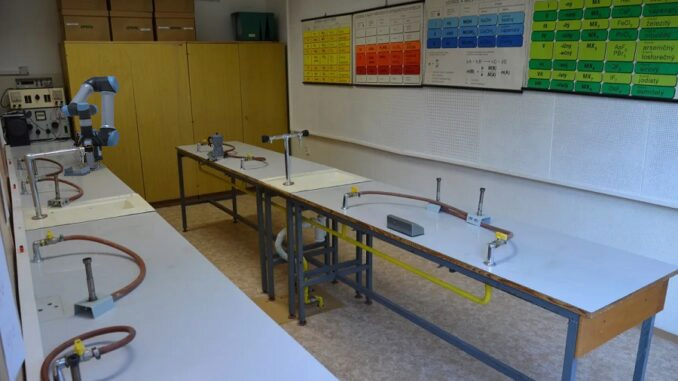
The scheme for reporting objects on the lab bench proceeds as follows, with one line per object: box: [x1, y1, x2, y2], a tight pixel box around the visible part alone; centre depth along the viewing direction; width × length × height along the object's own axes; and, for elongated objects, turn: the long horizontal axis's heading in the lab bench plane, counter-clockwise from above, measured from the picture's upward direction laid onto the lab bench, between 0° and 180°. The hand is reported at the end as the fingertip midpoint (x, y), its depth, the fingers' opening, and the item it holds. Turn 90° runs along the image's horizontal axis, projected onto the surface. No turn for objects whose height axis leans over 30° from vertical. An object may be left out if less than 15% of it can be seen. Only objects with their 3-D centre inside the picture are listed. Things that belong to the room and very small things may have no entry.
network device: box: [84, 139, 100, 171], centre depth 348 cm, size 26×9×20 cm, turn 25°
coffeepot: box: [206, 132, 225, 157], centre depth 387 cm, size 15×9×18 cm, turn 138°
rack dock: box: [62, 165, 91, 177], centre depth 330 cm, size 10×13×4 cm
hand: (90, 155), depth 349 cm, fingers open, 13 cm apart
